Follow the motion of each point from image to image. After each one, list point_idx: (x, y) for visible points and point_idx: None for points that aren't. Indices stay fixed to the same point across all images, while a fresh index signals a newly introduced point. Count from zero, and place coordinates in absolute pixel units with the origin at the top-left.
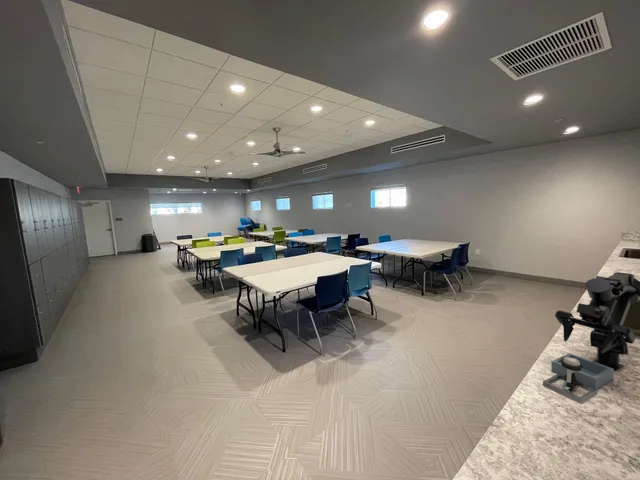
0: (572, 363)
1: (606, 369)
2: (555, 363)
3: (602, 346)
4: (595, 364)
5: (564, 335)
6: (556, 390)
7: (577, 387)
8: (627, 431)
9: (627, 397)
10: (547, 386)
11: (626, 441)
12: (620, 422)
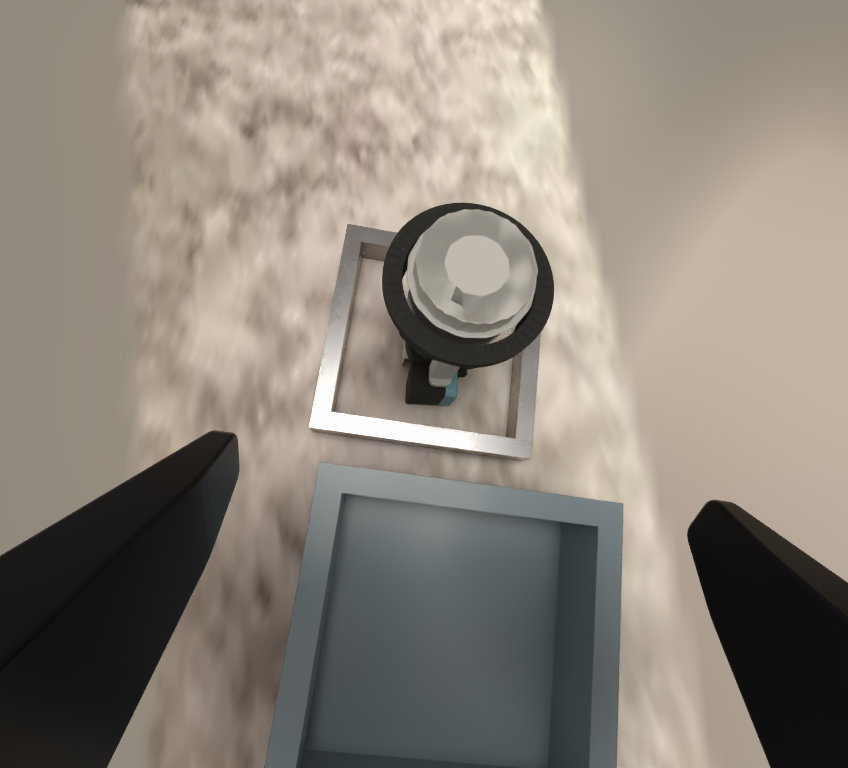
0: (450, 221)
1: (295, 758)
2: (592, 500)
3: (169, 490)
4: None
5: (804, 557)
6: None
7: (406, 394)
8: (155, 162)
9: None
10: None
11: (154, 85)
12: (185, 215)
